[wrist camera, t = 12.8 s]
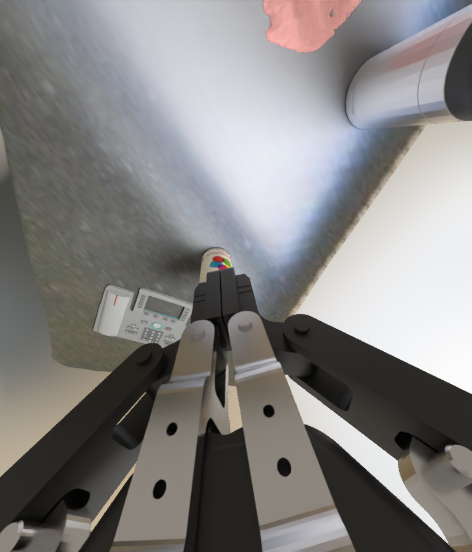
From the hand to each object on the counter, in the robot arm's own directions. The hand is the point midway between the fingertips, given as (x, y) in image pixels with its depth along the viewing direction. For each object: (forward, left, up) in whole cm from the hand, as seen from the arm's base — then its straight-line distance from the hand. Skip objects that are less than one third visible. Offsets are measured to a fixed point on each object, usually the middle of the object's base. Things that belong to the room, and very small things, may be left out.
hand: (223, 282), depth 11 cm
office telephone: (+27, +29, -33) cm, 51 cm away
